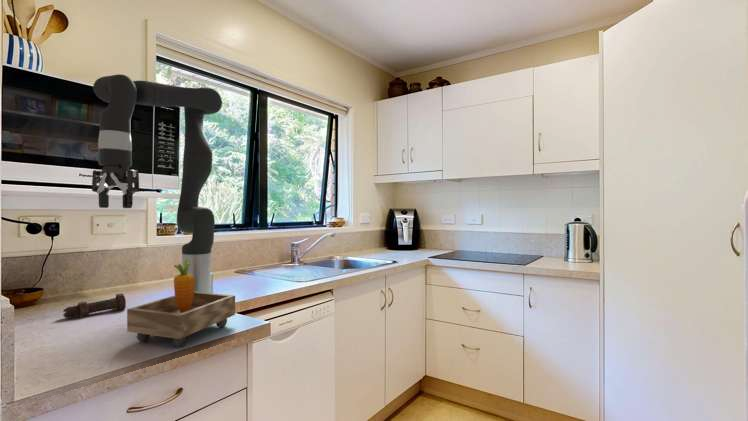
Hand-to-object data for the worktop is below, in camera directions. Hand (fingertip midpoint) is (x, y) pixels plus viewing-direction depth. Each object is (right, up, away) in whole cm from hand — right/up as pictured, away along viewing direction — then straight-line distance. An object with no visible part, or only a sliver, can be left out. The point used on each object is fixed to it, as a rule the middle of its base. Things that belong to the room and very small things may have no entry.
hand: (115, 207), depth 102 cm
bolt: (-15, -33, +12) cm, 38 cm away
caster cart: (+21, -34, -4) cm, 40 cm away
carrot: (+21, -29, -4) cm, 36 cm away
